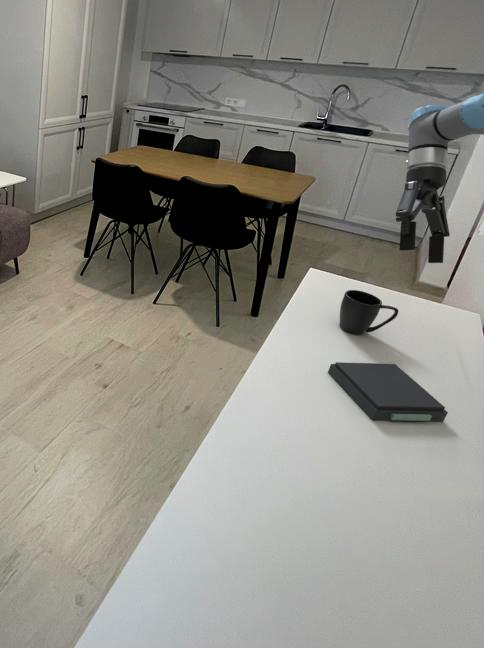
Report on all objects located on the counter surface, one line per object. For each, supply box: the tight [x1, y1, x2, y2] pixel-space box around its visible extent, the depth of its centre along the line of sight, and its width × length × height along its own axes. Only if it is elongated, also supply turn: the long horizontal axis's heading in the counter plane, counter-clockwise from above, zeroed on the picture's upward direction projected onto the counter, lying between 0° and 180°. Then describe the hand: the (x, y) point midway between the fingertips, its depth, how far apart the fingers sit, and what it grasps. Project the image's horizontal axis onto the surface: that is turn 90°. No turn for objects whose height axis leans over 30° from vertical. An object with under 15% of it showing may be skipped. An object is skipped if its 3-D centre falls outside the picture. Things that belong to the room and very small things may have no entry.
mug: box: [339, 289, 399, 336], centre depth 127 cm, size 8×12×10 cm
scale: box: [327, 361, 449, 423], centre depth 104 cm, size 16×15×3 cm
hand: (421, 256), depth 115 cm, fingers open, 13 cm apart
